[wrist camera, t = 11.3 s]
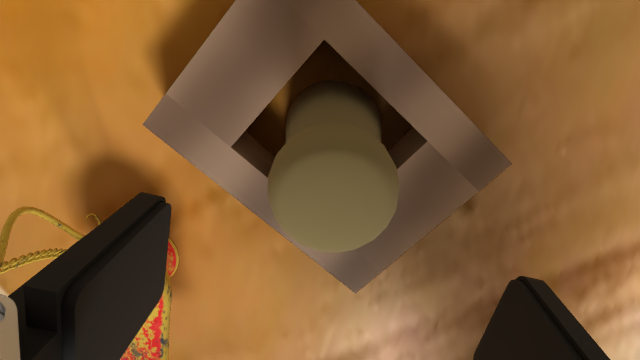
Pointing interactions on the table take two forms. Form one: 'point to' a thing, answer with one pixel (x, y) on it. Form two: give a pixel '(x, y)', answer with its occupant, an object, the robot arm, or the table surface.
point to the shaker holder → (269, 78)
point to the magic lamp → (153, 338)
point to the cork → (333, 170)
